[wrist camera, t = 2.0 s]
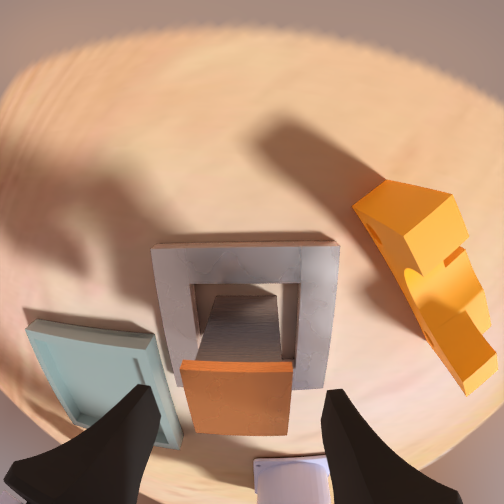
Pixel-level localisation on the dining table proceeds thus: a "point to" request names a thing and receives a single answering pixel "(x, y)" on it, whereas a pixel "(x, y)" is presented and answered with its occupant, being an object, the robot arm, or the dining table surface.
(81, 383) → the tray
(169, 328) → the socket
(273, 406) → the pin
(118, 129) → the dining table surface
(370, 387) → the dining table surface
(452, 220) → the pipe clamp
